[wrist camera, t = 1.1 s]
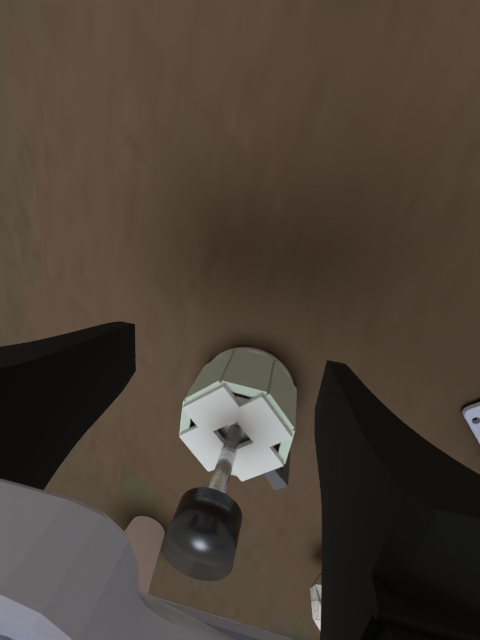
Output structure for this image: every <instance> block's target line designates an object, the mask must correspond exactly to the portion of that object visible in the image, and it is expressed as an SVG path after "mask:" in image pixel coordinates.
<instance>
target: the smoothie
mask: <svg viewBox="0 0 480 640" xmlns="http://www.w3.org/2000/svg"><path fill="white" fill-rule="evenodd" d="M124 532H125V533H126V534H127V537H128V539H129V542H130V545H131V547H132V550H133V553H134V555H135V558H136V561H137V564H138V589H140V590H142V591H144V592H146V593H148V590H149V586H150V583H151V579H152V576H153V573H154V569H155V566H156V562H157V559H158V555H159V552H160V549H161V545H162V542H163V538H164V534H165V532H164V529H163V527H162V526H161V524H160V523H159V522H157V521H156V520H154V519H152V518H150V517H147V516H137V517H135V518H134V519H133V520H132V521H131V523H130V524H129V525H128V527H127V528H126V530H125V531H124Z"/></svg>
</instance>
